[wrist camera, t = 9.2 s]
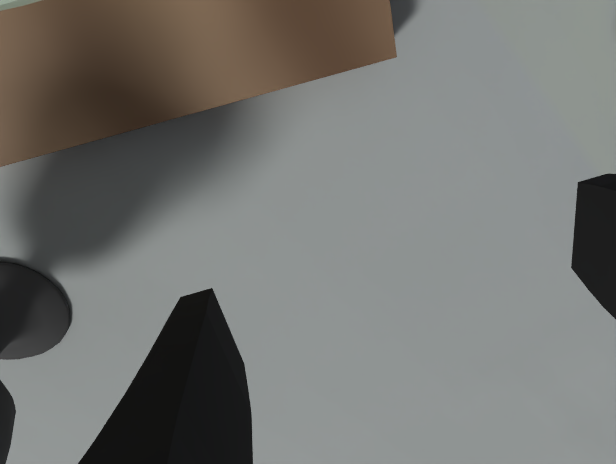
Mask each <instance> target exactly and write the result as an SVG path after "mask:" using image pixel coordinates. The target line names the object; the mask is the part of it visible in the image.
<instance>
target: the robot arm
mask: <svg viewBox="0 0 616 464" xmlns="http://www.w3.org/2000/svg"><path fill="white" fill-rule="evenodd" d="M571 268H572V269H573V271H574V272H575V273H576V274H577V276H578V277H579V278H580V279H581V281H582V282H583V283H584V285H585V286H586V287H587V288H588V290H589V291H590V292H591V293H592V294H593V296H594V297H595V298H596V299H597V300H598V301H599V303H600V304H601V305H602V306H603V307H604V308H605V309H606V310H607V311H608V312H609V313H610V314H611V315H612V316H613V317H614V318H615V319H616V174H605V175H601V176H598V177H595V178H591V179H588V180H584V181H581V182H578V188H577V201H576V214H575V227H574V240H573V253H572V266H571ZM78 464H253V452H252V418H251V407H250V400H249V392H248V386H247V379H246V372H245V366H244V362H243V360H242V358H241V355H240V353H239V351H238V348H237V346H236V343H235V341H234V339H233V336H232V334H231V332H230V329H229V327H228V325H227V322H226V320H225V317H224V315H223V313H222V310H221V308H220V306H219V303H218V301H217V298H216V296H215V294H214V291H213V289H212V288H211V289H207V290H204V291H200V292H197V293H193V294H190V295H186V296H183V297H180V299H179V301H178V302H177V304H176V306H175V308H174V309H173V311H172V313H171V314H170V316H169V318H168V320H167V322H166V323H165V325H164V327H163V329H162V331H161V333H160V334H159V336H158V338H157V340H156V342H155V343H154V345H153V347H152V349H151V350H150V352H149V354H148V356H147V357H146V359H145V361H144V363H143V364H142V366H141V368H140V369H139V371H138V373H137V374H136V376H135V378H134V380H133V381H132V383H131V385H130V386H129V388H128V390H127V391H126V393H125V395H124V396H123V398H122V399H121V401H120V402H119V404H118V405H117V407H116V408H115V410H114V412H113V413H112V415H111V416H110V418H109V419H108V421H107V422H106V424H105V425H104V427H103V428H102V430H101V432H100V433H99V435H98V436H97V438H96V439H95V441H94V442H93V443H92V445H91V446H90V448H89V449H88V451H87V452H86V453H85V455H84V456H83V458H82V459H81V460H80V462H79V463H78Z"/></svg>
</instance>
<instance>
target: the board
mask: <svg viewBox="0 0 616 464" xmlns="http://www.w3.org/2000/svg"><path fill="white" fill-rule="evenodd" d="M395 57H397V55H396V47H395V39H394V31H393V23H392V15H391V7H390V0H41V1H38V2H34V3H31V4H27V5H24V6H19V7H15V8H11V9H6V10H2V11H0V167H1V166H5V165H9V164H12V163H16V162H20V161H23V160H27V159H30V158H34V157H38V156H41V155H45V154H48V153H52V152H56V151H59V150H63V149H66V148H70V147H74V146H77V145H81V144H85V143H88V142H92V141H95V140H99V139H103V138H106V137H110V136H113V135H117V134H121V133H124V132H128V131H131V130H135V129H139V128H142V127H146V126H150V125H153V124H157V123H160V122H164V121H168V120H171V119H175V118H178V117H182V116H186V115H189V114H193V113H196V112H200V111H204V110H207V109H211V108H215V107H218V106H222V105H225V104H229V103H233V102H236V101H240V100H243V99H247V98H251V97H254V96H258V95H261V94H265V93H269V92H272V91H276V90H280V89H283V88H287V87H290V86H294V85H298V84H301V83H305V82H308V81H312V80H316V79H319V78H323V77H327V76H330V75H334V74H337V73H341V72H345V71H348V70H352V69H355V68H359V67H363V66H366V65H370V64H373V63H377V62H381V61H384V60H388V59H392V58H395Z"/></svg>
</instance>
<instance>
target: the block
mask: <svg viewBox="0 0 616 464" xmlns="http://www.w3.org/2000/svg"><path fill="white" fill-rule="evenodd" d="M38 1H41V0H0V11H2V10H6V9H11V8H15V7H19V6H24V5H27V4H31V3H34V2H38Z"/></svg>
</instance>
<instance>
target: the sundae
mask: <svg viewBox="0 0 616 464" xmlns="http://www.w3.org/2000/svg"><path fill="white" fill-rule="evenodd" d="M69 323H70V312H69V307H68V304H67V302H66V300H65V298H64V297H63V295H62V294H61V292H60V290H59V289H58V288H57V287H56V286H55V285H53V284H52V283H51V282H50V281H49V280H47V279H46V278H45V277H43V276H42V275H40V274H39V273H37V272H34V271H32V270H30V269H28V268H25V267H22V266H19V265H16V264H12V263H4V262H0V359H6V360H7V359H22V358H27V357H32V356H35V355H38V354H42V353H44V352H46V351H48V350H49V349H51V348H53V347H54V346H55V345H57V344H58V343H59V342H60V341H61V340H62V338H63V337H64V335H65V334H66V332H67V330H68V328H69ZM15 413H16V410H15V405H14V401H13V398H12V396H11V395H10V393H9V391H8V390H7V389H6V387H5V386H4V384H3V383H2V382H1V380H0V464H6V460H7V456H8V453H9V449H10V445H11V439H12V432H13V426H14V419H15Z"/></svg>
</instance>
